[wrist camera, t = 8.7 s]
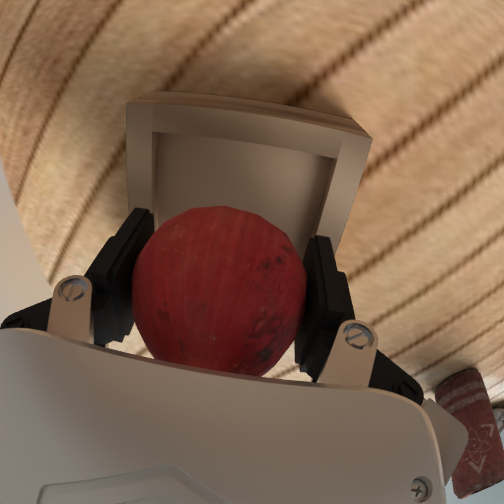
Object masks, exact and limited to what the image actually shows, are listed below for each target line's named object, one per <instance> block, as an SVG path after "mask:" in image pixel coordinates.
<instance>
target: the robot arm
mask: <svg viewBox="0 0 504 504" xmlns="http://www.w3.org/2000/svg"><path fill="white" fill-rule="evenodd" d="M154 232H155V231H154V214H153V213H150V210H149V209H145V208H137V207H135V208H134V209H133V211H132V212H131V213H130V215H129V216H128V218H127V219H126V220H125V222H124V223H123V225H122V226H121V227H120V229H119V230H118V232H117V233H116V235H115V236H112V237H110V238H109V239H108V241H107V242H106V243H105V245H104V246H103V248H102V249H101V251H100V252H99V254H98V255H97V257H96V258H95V260H94V261H93V263H92V264H91V266H90V267H89V269H88V270H87V272H86V273H85V275H84V276H81V275H72V276H68V277H66V278H63V279H62V280H61V281H59V282H58V284H57V285H56V286H55V289H54V292H53V297H52V298H50V299H47V300H45V301H42V302H40V303H37V304H35V305H33V306H30V307H28V308H25V309H23V310H20V311H18V312H15V313H13V314H11V315H9V316H8V317H7V318H6V319H5V320H4V321H3V323H2V324H1V327H0V504H446V493H445V486H446V484H447V482H448V481H449V479H450V477H451V475H452V473H453V471H454V470H455V468H456V466H457V464H458V462H459V460H460V458H461V456H462V454H463V452H464V450H465V447H466V445H467V443H468V439H469V438H468V432H467V429H466V427H465V426H464V425H463V424H462V423H461V422H459V421H458V420H457V419H456V418H454V417H453V416H452V415H451V414H449V413H448V412H447V411H446V410H444V409H443V408H442V407H440V406H439V405H438V404H437V403H435V402H434V401H433V400H432V399H430V398H429V399H428V400H426V399H425V398H424V394H423V390H422V388H421V386H420V384H419V383H418V382H417V381H416V380H415V379H413V378H412V377H411V376H410V375H408V374H407V373H406V372H405V371H404V370H402V369H401V368H400V367H399V366H397V365H396V364H395V363H394V362H392V361H391V360H390V359H389V358H388V357H386V356H385V355H384V354H383V353H381V352H380V351H379V350H378V349H377V346H378V337H377V334H376V332H375V331H374V329H373V328H372V327H371V326H369V325H368V324H366V323H365V322H363V321H359V320H356V319H355V315H354V310H353V305H352V301H351V296H350V292H349V287H348V283H347V279H346V275H345V273H344V272H339V271H337V266H336V261H335V257H334V252H333V248H332V244H331V239H330V237H326V236H321V235H315V237H314V238H311V237H310V238H309V241H308V244H307V248H306V251H305V254H304V258H303V261H302V262H303V265H304V268H305V272H306V275H307V287H306V302H305V312H304V320H303V324H302V326H301V328H300V331H299V333H298V335H297V337H296V338H295V340H294V344H295V363H298V364H300V372H306V373H307V374H308V375H309V376H310V377H311V378H312V379H311V381H310V382H304V381H293V380H283V379H274V378H265V377H257V376H250V375H242V374H235V373H228V372H222V371H215V370H209V369H203V368H198V367H192V366H187V365H181V364H176V363H171V362H166V361H161V360H156V359H152V358H147V357H143V356H138V355H134V354H129V353H125V352H121V351H117V350H113V349H109V348H108V343H110V342H112V341H117V342H122V341H123V339H124V336H125V335H127V336H128V335H129V334H130V332H131V329H132V327H133V324H134V322H135V320H134V317H133V313H132V273H133V269H134V266H135V262H136V259H137V256H138V255H139V253H140V252H141V250H142V249H143V248H144V246H145V245H146V243H147V242H148V240H149V239H150V238H151V236H152V235H153V233H154Z"/></svg>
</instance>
